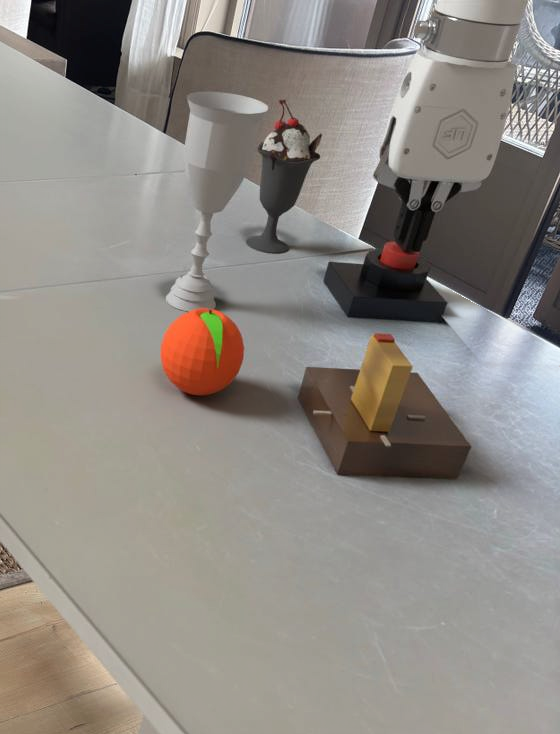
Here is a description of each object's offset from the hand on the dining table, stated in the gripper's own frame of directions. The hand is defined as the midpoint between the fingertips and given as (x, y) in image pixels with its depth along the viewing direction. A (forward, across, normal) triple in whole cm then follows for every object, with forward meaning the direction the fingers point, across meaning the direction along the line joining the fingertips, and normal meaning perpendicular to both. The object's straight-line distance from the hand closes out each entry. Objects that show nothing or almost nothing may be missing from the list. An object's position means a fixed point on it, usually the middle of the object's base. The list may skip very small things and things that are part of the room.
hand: (406, 246), depth 99 cm
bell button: (+2, 0, 0) cm, 2 cm away
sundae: (+6, -10, +13) cm, 18 cm away
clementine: (+6, -25, -23) cm, 35 cm away
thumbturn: (+3, -13, -31) cm, 34 cm away
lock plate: (+6, -11, -29) cm, 31 cm away
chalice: (+5, -22, -4) cm, 23 cm away
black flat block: (+6, -1, -1) cm, 6 cm away
